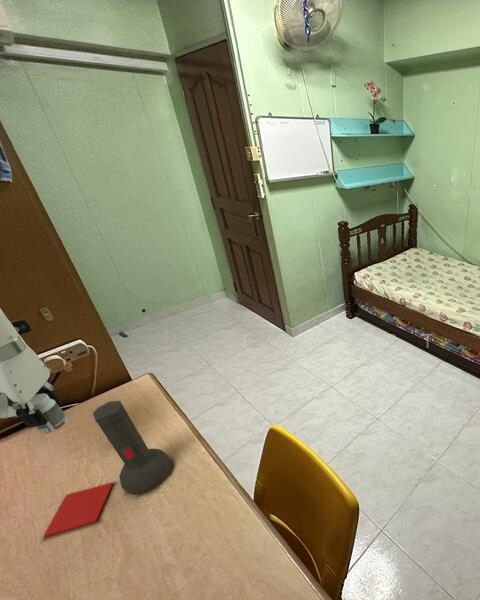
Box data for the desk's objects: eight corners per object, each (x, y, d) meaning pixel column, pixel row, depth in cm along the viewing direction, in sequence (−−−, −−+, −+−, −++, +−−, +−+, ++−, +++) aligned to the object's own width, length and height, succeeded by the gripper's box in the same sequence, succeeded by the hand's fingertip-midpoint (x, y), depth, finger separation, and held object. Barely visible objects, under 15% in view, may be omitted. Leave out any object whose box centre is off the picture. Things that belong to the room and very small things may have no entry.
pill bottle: (68, 414, 74) (49, 388, 70) (69, 425, 72) (50, 399, 68) (39, 425, 71) (18, 399, 67) (40, 438, 69) (18, 412, 65)
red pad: (44, 537, 66) (43, 536, 66) (67, 496, 74) (66, 494, 73) (96, 522, 69) (95, 520, 69) (113, 483, 77) (112, 482, 76)
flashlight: (126, 469, 80) (121, 504, 72) (79, 399, 68) (68, 433, 60) (172, 451, 84) (172, 481, 77) (136, 382, 72) (132, 411, 65)
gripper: (0, 331, 67) (45, 393, 75) (-69, 384, 53) (-3, 453, 62) (45, 324, 69) (84, 385, 78) (-9, 374, 55) (46, 441, 64)
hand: (45, 414), depth 70 cm, fingers closed on pill bottle, 4 cm apart
